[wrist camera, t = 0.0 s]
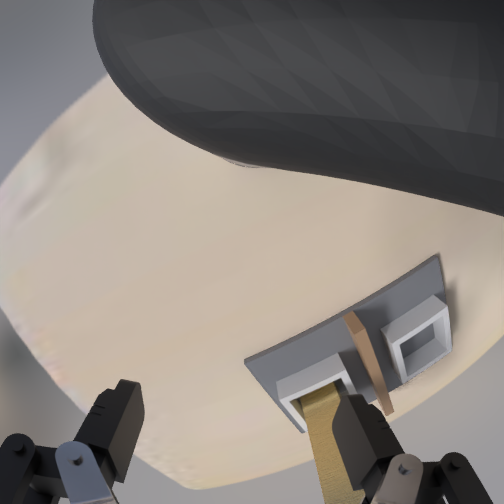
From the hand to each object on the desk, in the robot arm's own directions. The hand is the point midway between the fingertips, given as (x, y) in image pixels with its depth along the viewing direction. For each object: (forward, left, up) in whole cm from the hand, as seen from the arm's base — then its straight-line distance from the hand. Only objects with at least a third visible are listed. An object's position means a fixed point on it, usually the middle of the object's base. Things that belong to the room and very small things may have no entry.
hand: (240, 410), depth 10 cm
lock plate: (+11, +16, -17) cm, 26 cm away
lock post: (+14, +10, -16) cm, 24 cm away
